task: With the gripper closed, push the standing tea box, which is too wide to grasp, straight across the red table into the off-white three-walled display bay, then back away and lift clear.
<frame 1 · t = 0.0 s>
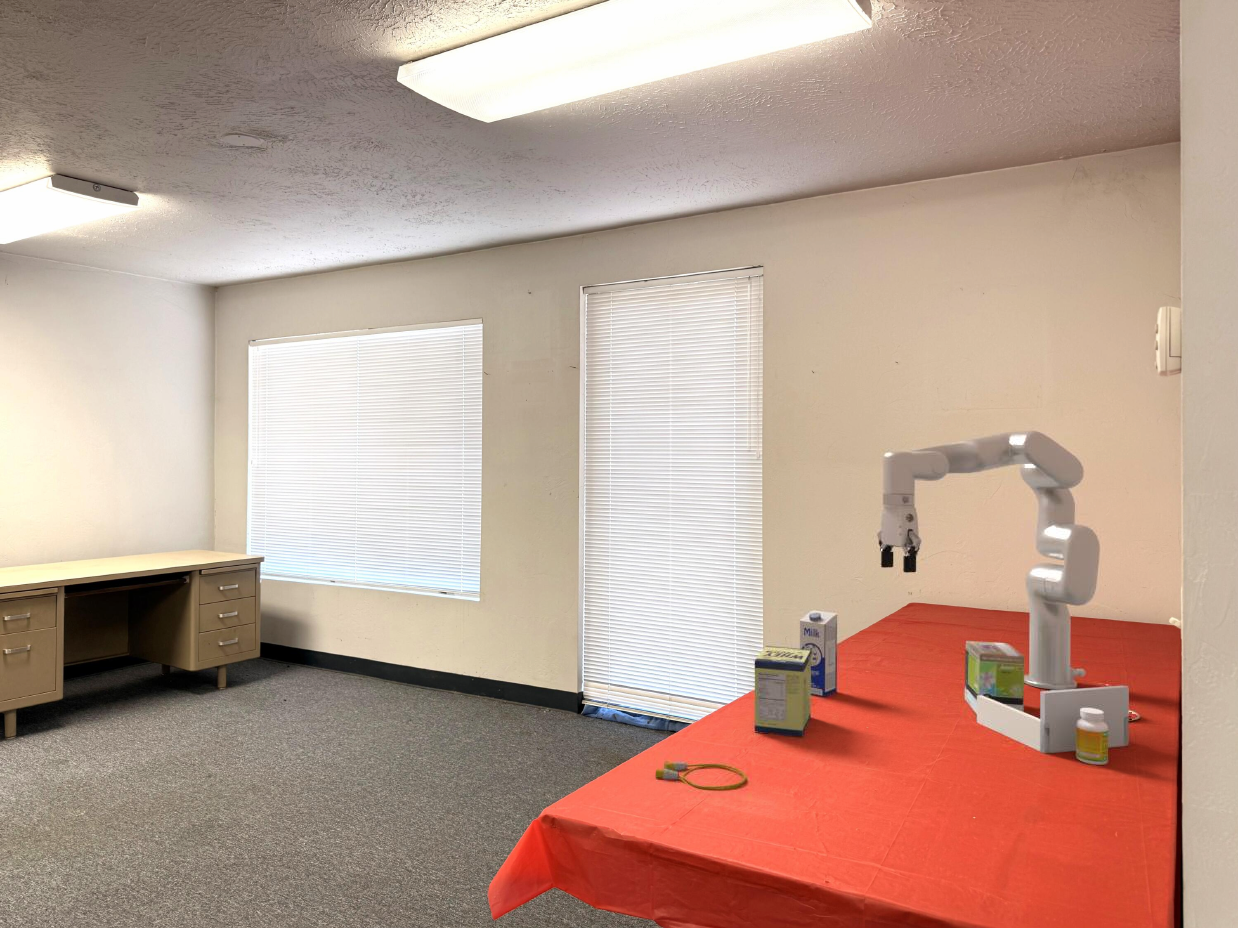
hand: (898, 569, 205), 31 cm above the table, tool pointing down, fingers open, 9 cm apart
milk carton: (818, 692, 207), on the table
display bay: (1047, 732, 176), on the table
supplement bottle: (1091, 761, 160), on the table
extension cord: (702, 779, 150), on the table
protein box: (783, 725, 181), on the table
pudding: (1108, 716, 190), on the table
tea box: (993, 710, 193), on the table
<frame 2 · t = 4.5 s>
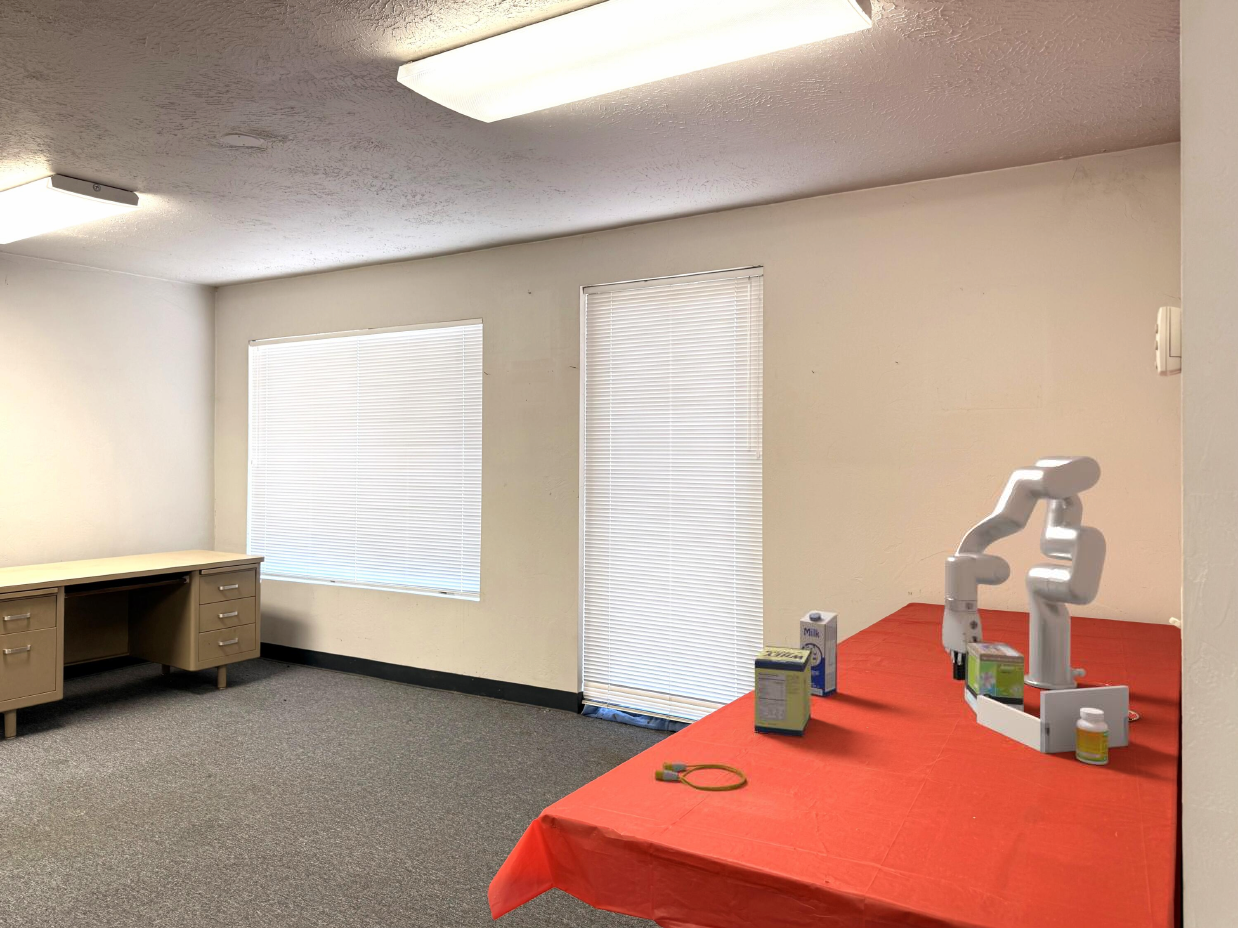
hand: (960, 679, 204), 4 cm above the table, tool pointing down, fingers closed
tea box: (993, 710, 193), on the table, touching gripper
everything else where it was.
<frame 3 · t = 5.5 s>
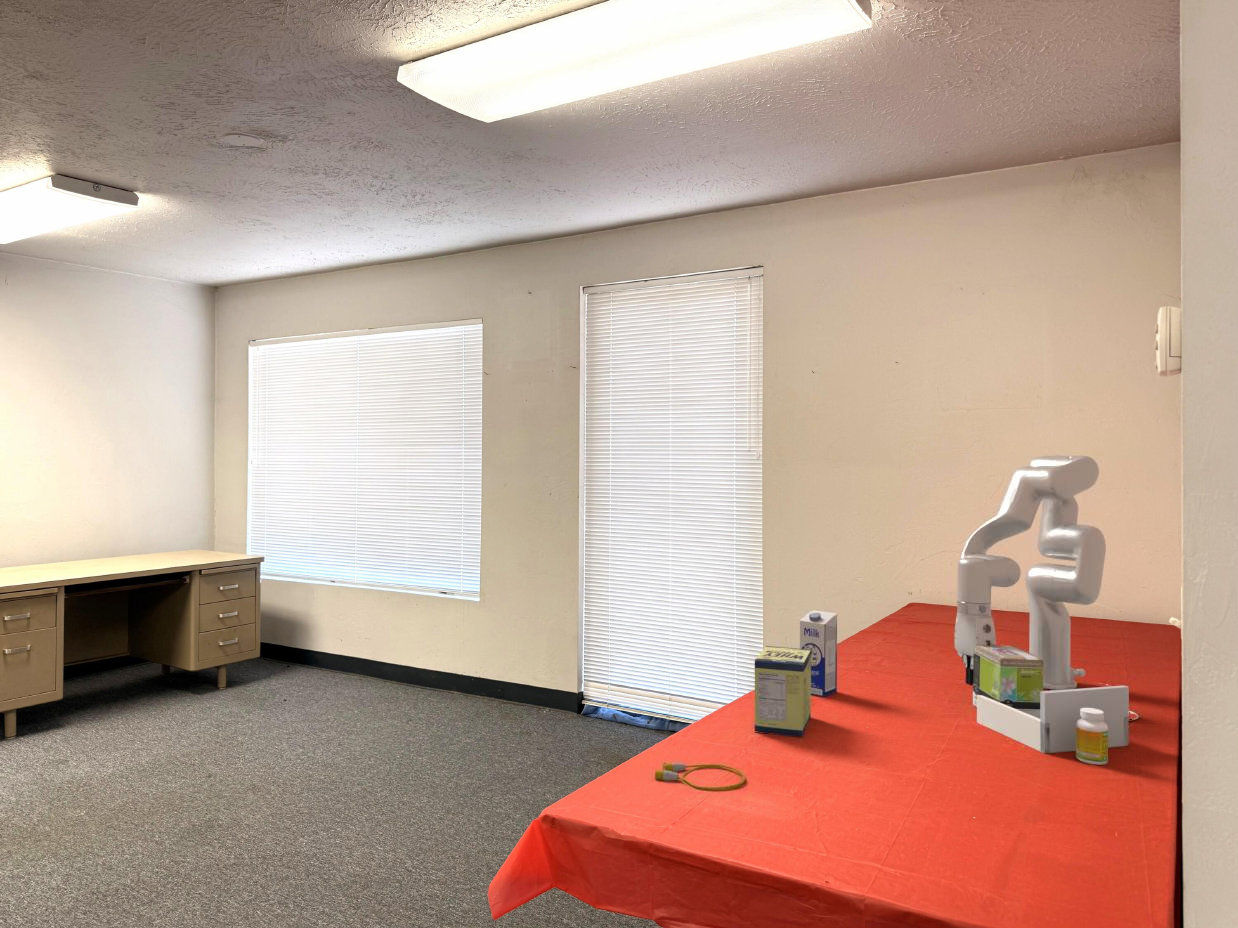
hand: (973, 684, 199), 4 cm above the table, tool pointing down, fingers closed
tea box: (1006, 715, 189), on the table, touching gripper
everything else where it was.
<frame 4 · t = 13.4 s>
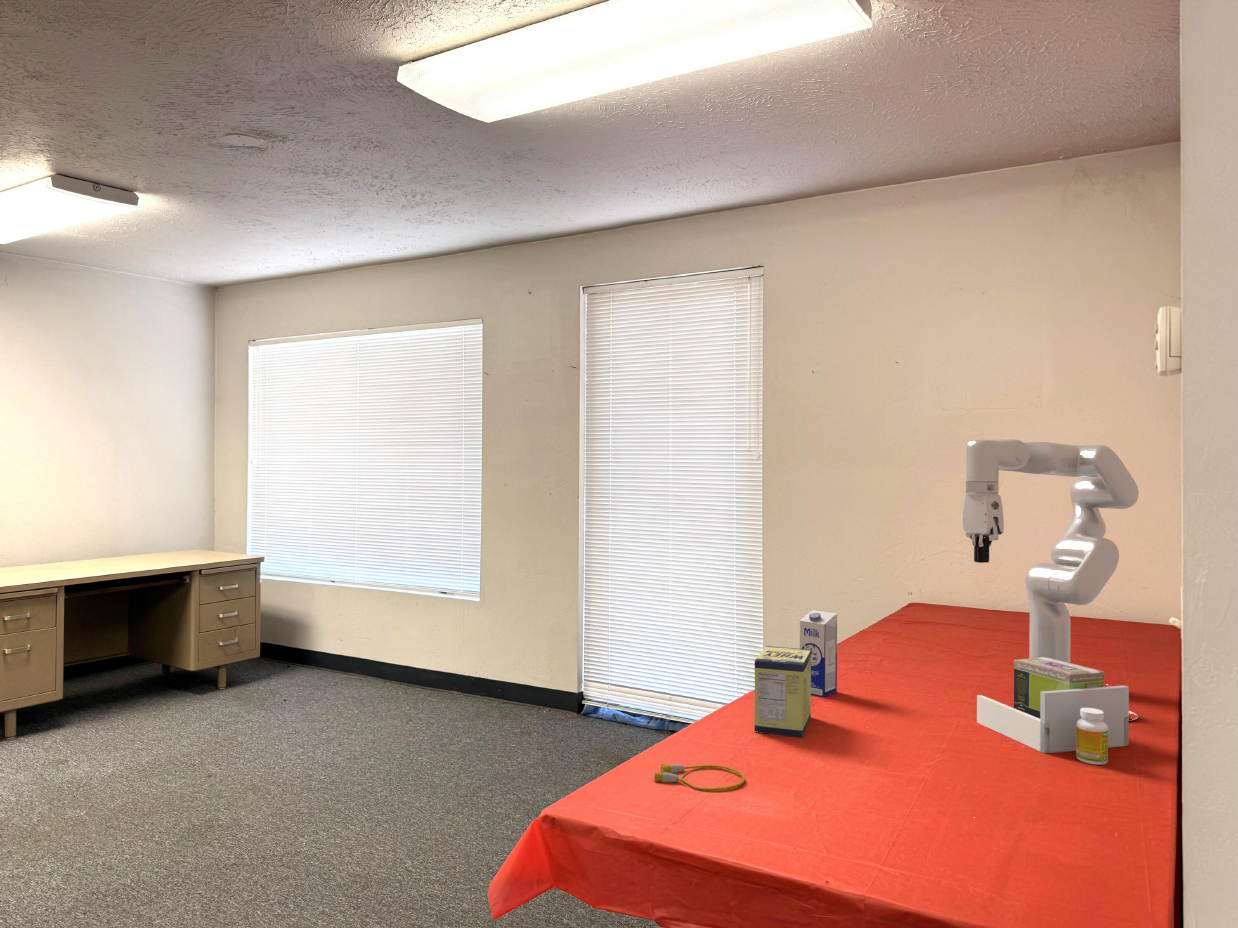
hand: (981, 562, 206), 33 cm above the table, tool pointing down, fingers closed
tea box: (1057, 734, 176), resting in display bay
at the end: tea box inside the target area on the display bay (2.1 cm from its centre), point 0.0 cm above the display bay's base; tea box tilted 0° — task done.
